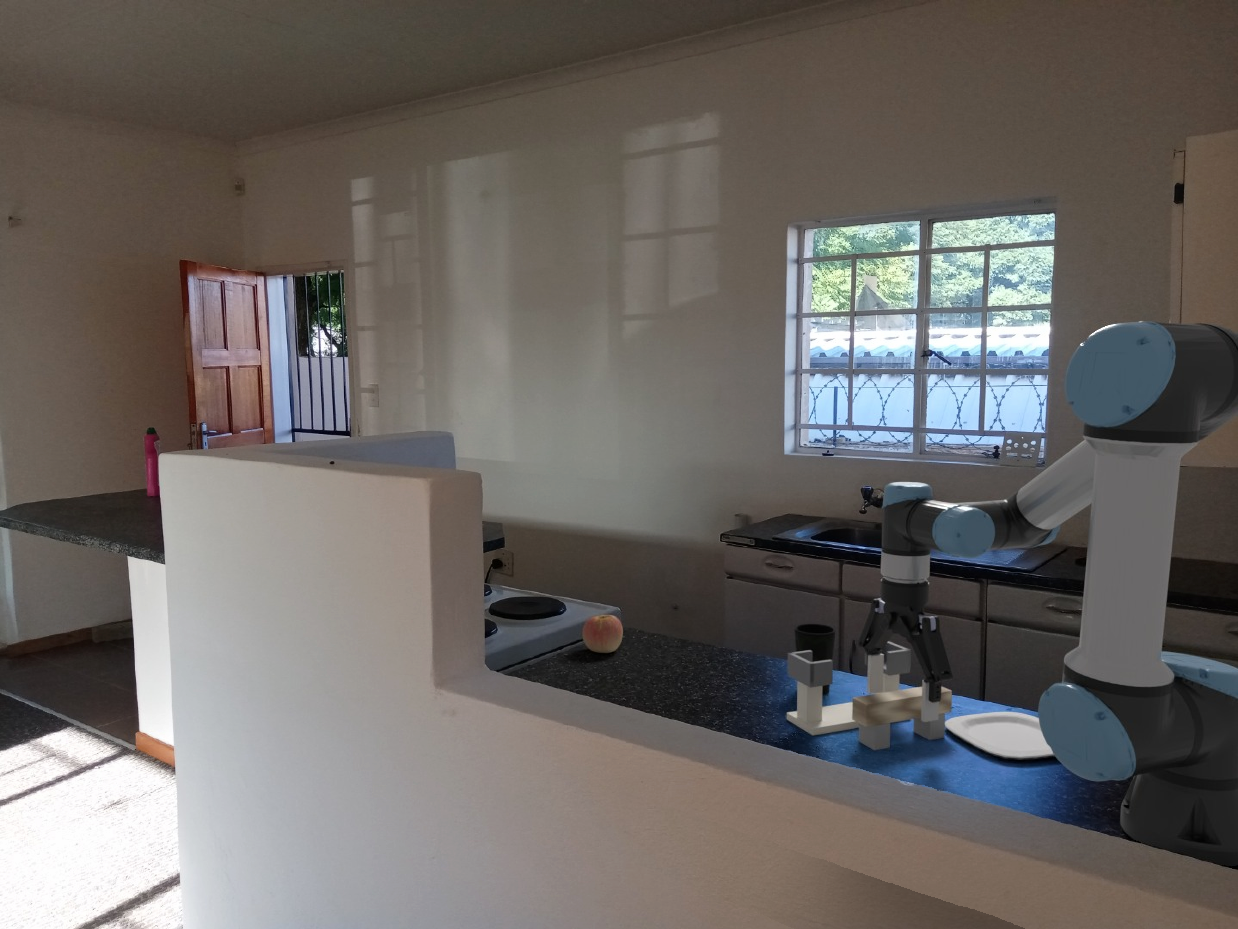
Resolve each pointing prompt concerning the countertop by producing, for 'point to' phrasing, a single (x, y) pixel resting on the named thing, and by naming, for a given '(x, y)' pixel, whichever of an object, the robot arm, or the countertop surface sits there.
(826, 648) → the cup
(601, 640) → the apple
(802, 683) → the bracket stand
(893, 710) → the rail
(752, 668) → the countertop surface
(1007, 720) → the plate
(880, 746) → the rests
